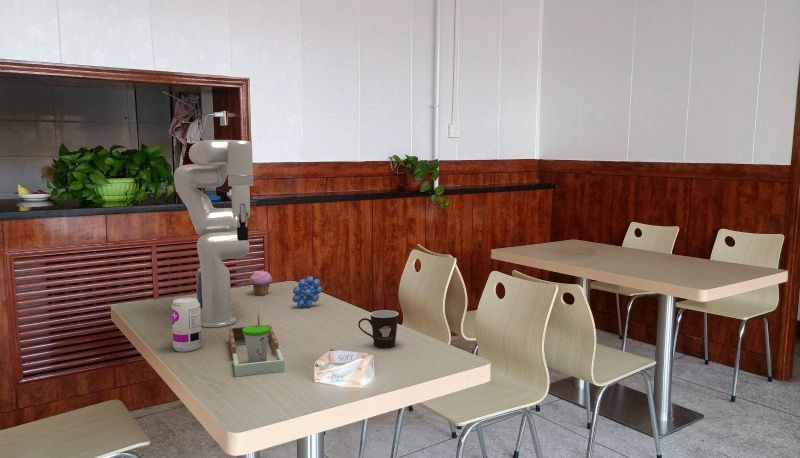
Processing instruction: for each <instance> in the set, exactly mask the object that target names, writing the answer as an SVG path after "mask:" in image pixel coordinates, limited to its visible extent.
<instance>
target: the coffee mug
mask: <svg viewBox="0 0 800 458" xmlns="http://www.w3.org/2000/svg"><path fill="white" fill-rule="evenodd" d="M369 315H370V319H369V318H367V317H363V318H360V320H358V323H357V324H358V325H357V326H358V328H359V330H361V332H363V333H364V334H365V335H368V336H369V337H371V339H372V340H373V346H374V347H375V348H377V349H381V348H382V350H385V349H386V348H388V349H392V347H393V348H394V347H395V346H396V340H397V330H398V323H399V312H397V311H395V310H389V309H387V310H386V309H384V310H383V309H382V310H375V311H372V312H370V314H369ZM363 321H367V322H368V323H369V324H370V325H371V330H372V331H371V332H372V333H369V332H368V331H366V330H364V329H363V328H362V327H361V324H362V322H363Z"/></svg>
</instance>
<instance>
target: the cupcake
mask: <svg viewBox="0 0 800 458" xmlns="http://www.w3.org/2000/svg"><path fill="white" fill-rule="evenodd" d="M272 281H273V278H272V275H271V273H269V272H268V271H264V270H263V271H262V270H259V271H254V272H253V273H252V274H251V275H250V278H249V282H250V283H251V284H252V289H253V294H254V295H255V296H266V295H267V294H268V291H269V288H270V284H271V282H272Z"/></svg>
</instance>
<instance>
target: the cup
mask: <svg viewBox="0 0 800 458" xmlns="http://www.w3.org/2000/svg"><path fill="white" fill-rule="evenodd" d="M257 311H258V312H257V324H253V325H248V326H244V327H245V328H243V329H242V331H243V334H244V336H245V342H246V345H245V347H246V352H247V359H248V363H255V362H264V361H267V355H268V346H269V343H268V340H269V333H270V332H271V328H270V327H269V326H266V325H267V324H261V323H260V322H261V321H260V315H261V308H258V310H257Z"/></svg>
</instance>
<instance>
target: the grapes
mask: <svg viewBox="0 0 800 458" xmlns="http://www.w3.org/2000/svg"><path fill="white" fill-rule="evenodd" d="M320 284H321V281H320V279H318V278H316V279H314V277H313V276H311V275H310V276H308V277H306V279H305V278H301V279H299V280H298V285H296V286H295V287H294V288H293V290H292V293H293V294H294V295H293V296H292V302H293V303H296V305H297V307H298V308H303V307H306V308H310V307H312V305H313V303H316V302H318V301H319V300H320V294H321V293H322V291H323V288H322V286H320Z"/></svg>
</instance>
